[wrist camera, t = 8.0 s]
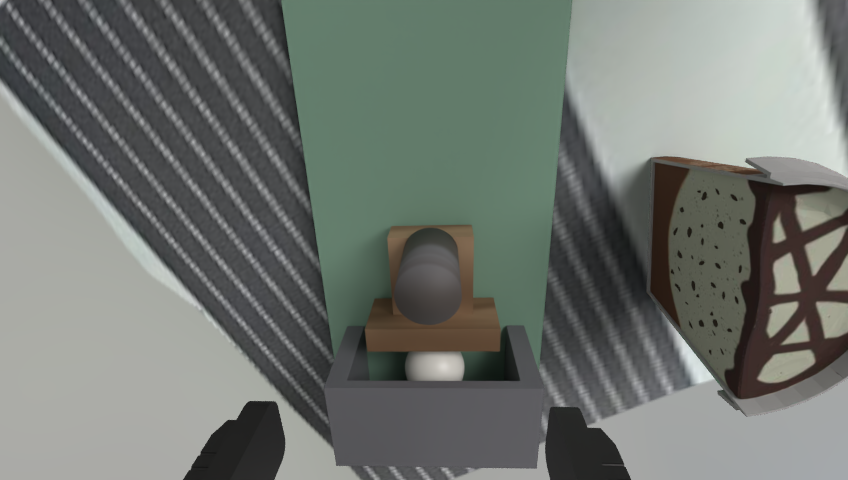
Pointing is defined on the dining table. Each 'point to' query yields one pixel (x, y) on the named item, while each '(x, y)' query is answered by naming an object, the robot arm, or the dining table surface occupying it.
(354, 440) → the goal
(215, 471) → the robot arm
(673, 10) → the dining table surface
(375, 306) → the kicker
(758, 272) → the food container
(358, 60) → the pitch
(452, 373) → the ball
